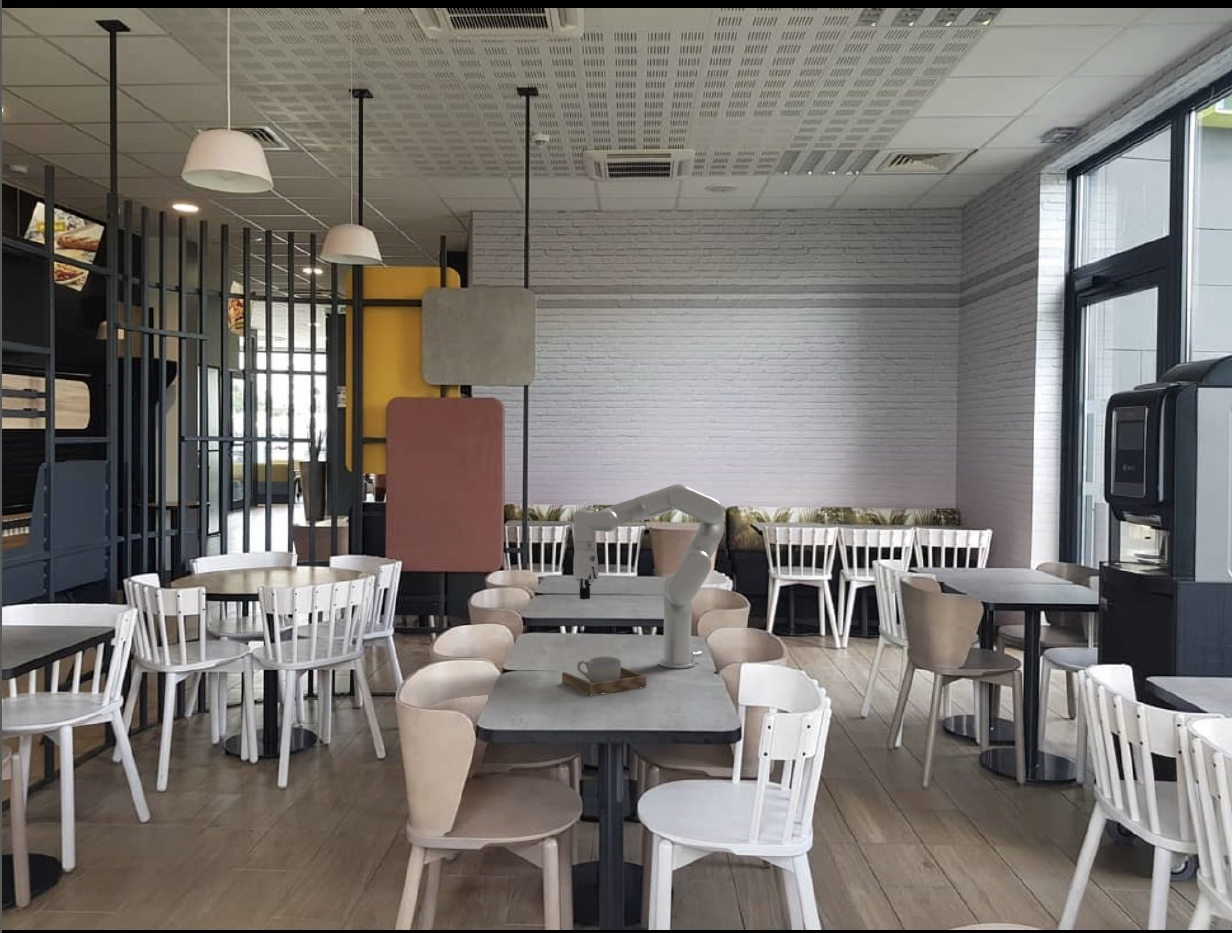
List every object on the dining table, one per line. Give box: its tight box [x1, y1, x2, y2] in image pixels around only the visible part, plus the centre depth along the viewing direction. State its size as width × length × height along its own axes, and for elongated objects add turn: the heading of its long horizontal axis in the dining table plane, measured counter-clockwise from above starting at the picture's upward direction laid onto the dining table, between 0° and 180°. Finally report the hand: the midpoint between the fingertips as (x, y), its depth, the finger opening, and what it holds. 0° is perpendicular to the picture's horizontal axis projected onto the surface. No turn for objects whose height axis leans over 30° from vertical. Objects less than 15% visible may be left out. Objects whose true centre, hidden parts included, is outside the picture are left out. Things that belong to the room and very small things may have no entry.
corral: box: [561, 666, 647, 696], centre depth 309 cm, size 20×18×4 cm
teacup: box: [576, 655, 622, 683], centre depth 310 cm, size 14×11×8 cm
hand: (584, 598), depth 336 cm, fingers closed
